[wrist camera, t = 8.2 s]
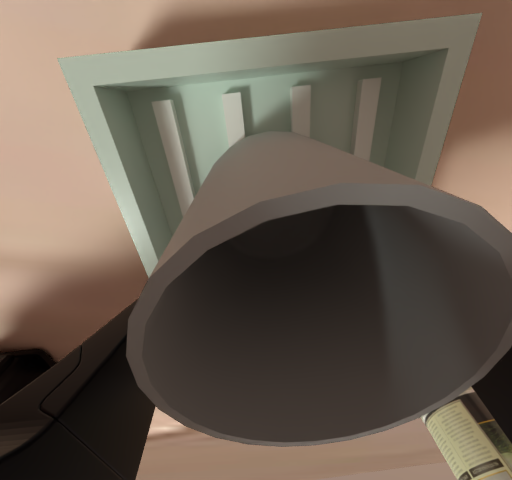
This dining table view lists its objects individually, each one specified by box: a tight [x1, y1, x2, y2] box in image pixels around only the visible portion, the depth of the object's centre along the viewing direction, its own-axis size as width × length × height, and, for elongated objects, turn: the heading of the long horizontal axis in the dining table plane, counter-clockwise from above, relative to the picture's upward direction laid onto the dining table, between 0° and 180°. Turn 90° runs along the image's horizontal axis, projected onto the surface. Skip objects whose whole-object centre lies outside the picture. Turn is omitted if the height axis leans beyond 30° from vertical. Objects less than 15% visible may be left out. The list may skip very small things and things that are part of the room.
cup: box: [126, 131, 512, 447], centre depth 9 cm, size 7×10×9 cm
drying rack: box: [57, 13, 482, 278], centre depth 13 cm, size 16×14×4 cm
